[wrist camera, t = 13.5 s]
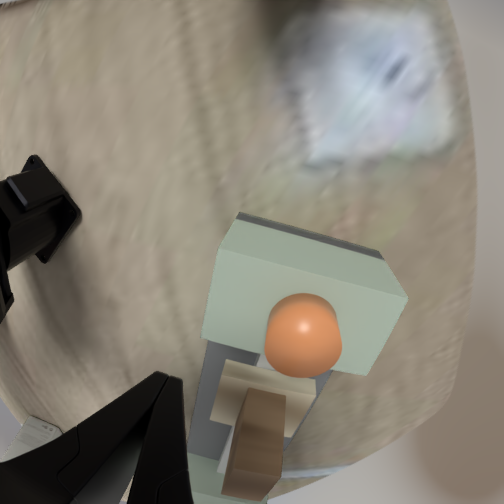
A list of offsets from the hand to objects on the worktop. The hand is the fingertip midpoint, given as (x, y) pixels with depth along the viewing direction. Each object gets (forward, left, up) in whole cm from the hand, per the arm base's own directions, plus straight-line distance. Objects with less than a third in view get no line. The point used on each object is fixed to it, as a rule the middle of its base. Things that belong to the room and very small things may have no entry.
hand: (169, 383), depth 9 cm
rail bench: (-8, -11, -12) cm, 18 cm away
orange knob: (+2, -4, -8) cm, 9 cm away
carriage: (-5, -9, -9) cm, 13 cm away
